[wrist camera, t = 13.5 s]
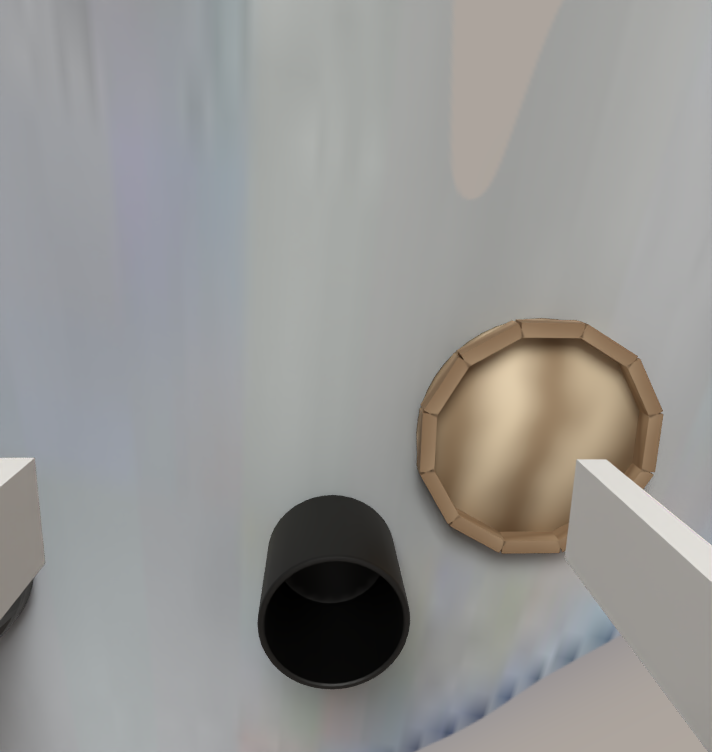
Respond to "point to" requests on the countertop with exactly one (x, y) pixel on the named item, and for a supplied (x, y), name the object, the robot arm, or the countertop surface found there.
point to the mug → (332, 595)
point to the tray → (532, 429)
